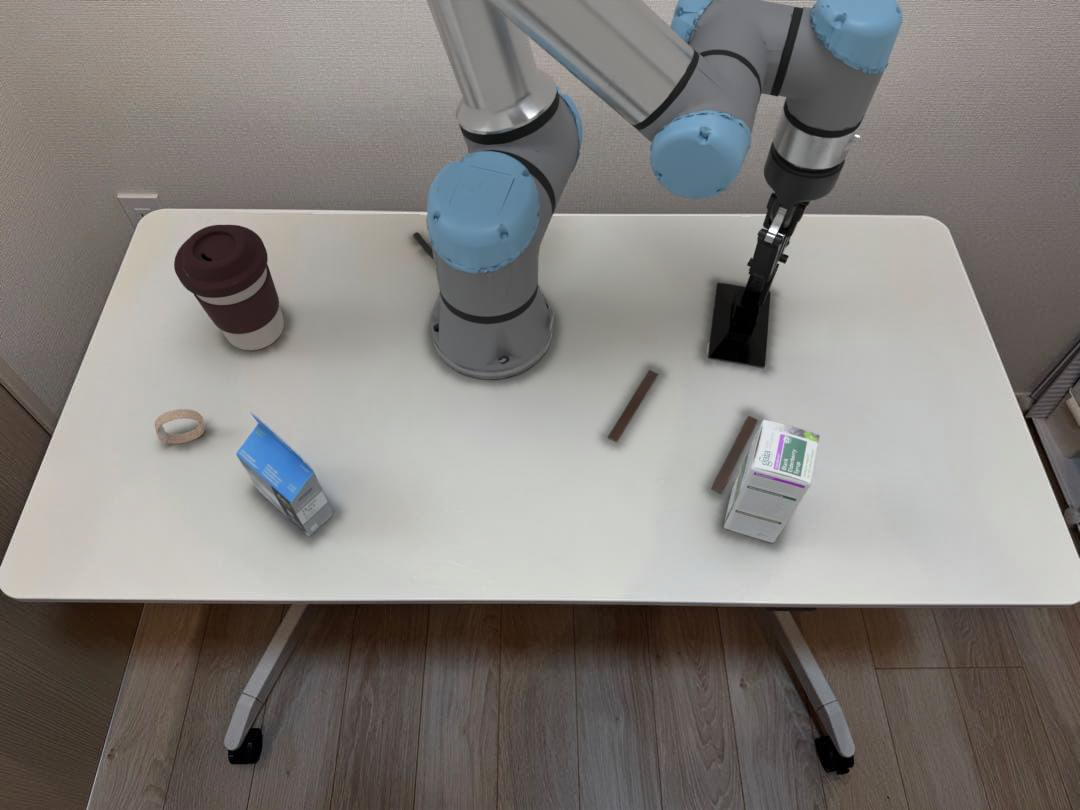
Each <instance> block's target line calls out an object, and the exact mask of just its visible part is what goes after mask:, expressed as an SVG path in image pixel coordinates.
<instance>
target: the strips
mask: <svg viewBox="0 0 1080 810" xmlns="http://www.w3.org/2000/svg"><path fill="white" fill-rule="evenodd" d="M658 376H659V373H658V372H656V371H653V370H651V369H648V371H647V373H646V374H645V376H644V378H642V381H641V382H640V384H639V385H638V387H637V389H636V391H635V392H634V394H633V395H632V397H631V398H630V400H629V402H628V403H627V405H626V407H625V408H624V410H623V412H622V413H621V415H620V416H619V418H618V420H617V421H616V423H615V424H614V426H613V428H612V429H611V431H610V432H609V435H608V436H607V438H608V439H609V440H612V441H613V442H616V443H618V441H619V439H620V438H621V437H622V434H623V433H624V431H625V430H626V428H627V426H628V424H629V423H630V421H631V420H632V418H633V417H634V415H635V413H636V412H637V410H638V409H639V407H640V405H641V404H642V402H643V400H644V398H645V397H646V395H647V394H648V392H649V391H650V389H651V387H652V385H653V383H654V382H655V380H656V378H657V377H658ZM758 421H759V419H758V418H755V417H753V416H750V415H747V417H746V419H745V421H744V424H743V425H742V427H741V429H740V431H739V433H738V435H737V437H736V439H735V441H734V443H733V445H732V447H731V449H730V451H729V452H728V454H727V456H726V459H725V461H724V463H723V464H722V466H721V468H720V470H719V472H718V474H717V476H716V478H715V480H714V482H713V483H712V486H711V488H710V489H711V490H712V491H714V492H716V493H718V494H720V495H721V494H722V493H723V490H724V488H725V487H726V485H727V483H728V480H729V479H730V477H731V475H732V473H733V470H734V469H735V467H736V465H737V463H738V461H739V458H740V457H741V455H742V453H743V451H744V449H745V447H746V445H747V443H748V441H749V439H750V437H751V435H752V433H753V431H754V429H755V427H756V425H757V423H758Z"/></svg>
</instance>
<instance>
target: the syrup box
mask: <svg viewBox="0 0 1080 810" xmlns="http://www.w3.org/2000/svg"><path fill="white" fill-rule="evenodd" d="M820 438H821V435H820V434H818V433H815V432H812V431H808V430H804V429H802V428H799V427H796V426H792V425H788V424H785V423H780V422H776V421H772V420H767V419H763V420H762V421H761V424H760V426H759V428H758V429H757V432H756V433H755V436H754V438H753V440H752V443H751V445H750V447H749V449H748V451H747V454H746V456H745V458H744V461H743V462H742V465H741V467H740V469H739V471H738V473H737V476H736V478H735V480H734V482H733V484H732V486H731V487H732V488H731V491H730V496H729V500H728V505H727V510H726V513H725V519H724V521H723V526H722V527H723V529H726V530H728V531H732V532H734V533H737V534H741V535H745V536H747V537H751V538H753V539H757V540H761V541H764V542H768V543H771V544H773V543H775V542H776V540H777V538H778V537H779V536H780V534H781V533H782V531H783V529H784V528H785V526H786V525H787V524H788V522H789V520H790V519H791V517H792V515H793V514H794V512H795V511H796V510H797V507H798V506H799V504H800V503H801V502H802V500H803V498H804V496H805V495H806V494H807V492H808V490H809V489H810V487H811V486H812V482H813V476H814V470H815V465H816V461H817V460H816V459H817V454H818V448H819V442H820Z"/></svg>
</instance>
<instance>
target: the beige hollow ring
mask: <svg viewBox="0 0 1080 810" xmlns="http://www.w3.org/2000/svg"><path fill="white" fill-rule="evenodd" d="M179 419H186V420H187V419H188V420H194V421H197V422H198V423H199V425H198V426H197V427H196V428H194V429H193V430H190V431H187V432H184V433H175V434H174V433H169V432H167V431H165V427H164V426H163V425H164V424H166V423H168V422H172V421H175V420H179ZM154 429H155V433H156V437H157V438H158V439H159V441H160V442H161V443H162V444H165V443H166V444H174V445H175V444H185V443H189V442H191V441H194V440H196V439H199V438H200V437H201V436H202V435H203V434H204V432H205V423H204V418H203V415H202V414H201V413H199V412H198V411H196V410H193V409H189V408H176V409H172V410H168V411H166V412H164V413H162V414H160V415H159V416H158V417H157V418H156V419H155V420H154Z"/></svg>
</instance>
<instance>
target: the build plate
mask: <svg viewBox="0 0 1080 810" xmlns="http://www.w3.org/2000/svg"><path fill="white" fill-rule="evenodd" d="M715 286H716V287H715V293H714V303H713V310H712V318H711V319H712V320H711V328H710V336H709V341H708V342H707V343H706V352H705V354H706V356H707V358H708V359H710V360H716V361H721V362H727V363H732V364H738V365H743V366H748V367H749V366H750V367H755V368H761V369H764V368H765V367H766V361H767V348H768V347H767V346H768V335H769V334H768V333H769V322H770V321H769V320H770V307H771V294H772V293H771V290H769V292H768V295H767V297H766V299H765V301H764V303H763V305H762V306H759V305H758V304H759V303H760V295H761V293H760V292H753V291H747V290H745V288H746V286H742V285H737V284H730V283H724V282H717V283H716V285H715Z"/></svg>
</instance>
